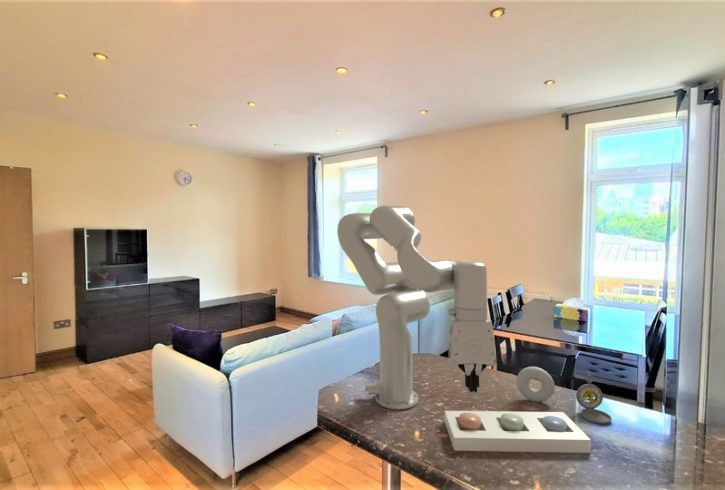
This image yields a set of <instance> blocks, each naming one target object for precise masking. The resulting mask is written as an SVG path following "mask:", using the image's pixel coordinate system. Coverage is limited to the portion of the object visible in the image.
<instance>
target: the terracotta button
mask: <svg viewBox="0 0 725 490" xmlns="http://www.w3.org/2000/svg"><path fill="white" fill-rule="evenodd" d="M459 426H460V427H461V428H462V429H461V430H471V431H480V429H481V418H480V417H479V416H478V415H476V414H473V413H462V414H460V416H459Z"/></svg>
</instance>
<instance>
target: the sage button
mask: <svg viewBox="0 0 725 490" xmlns="http://www.w3.org/2000/svg"><path fill="white" fill-rule="evenodd" d="M501 426H502V428H503V430H504V431H523V418H522V417H520V416H519V415H516V414H512V413H505V414H502V415H501Z"/></svg>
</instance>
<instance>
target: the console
mask: <svg viewBox="0 0 725 490" xmlns="http://www.w3.org/2000/svg"><path fill="white" fill-rule="evenodd" d="M462 413H473V414H476V415H478V416H479V417H480V418H481V429H480V430H479V431H471V430H463V429H462V428H461V427H460V426H459V416H460V414H462ZM505 413H512V414H516V415H519V416H520V417H522V418H523V431H507V430H504V429H503V428H502V426H501V415H502V414H505ZM546 416H554V417H558V418H561V419H563V420H564V421H565V422H566V423H567V432H548V431H547V430H546V429H545V428H544V427H543V418H544V417H546ZM444 424H445V427H446V430H447V433H448V437H449V439H450V442H451V444H452V448H453V451H455V452H456V451H458V452H460V451H461V452H463V451H465V452H468V451H469V452H508V453H509V452H515V453H517V452H518V453H522V452H523V453H568V454H569V453H572V454H579V453H580V454H585V453H586V454H591V453H592V452H591V451H592V450H591V449H592V447H591V446H592V445H591V444H592V440H591V438H590V437H588V436H587V434H586V433H585V432H584V431H583V430H582V429H581V428H580V427H578V425H576V423H575V422H574V421H573V420H572V419H571V418H570V417H569V416H568V415H567V414H566V413H565V412H564V411H505V410H504V411H503V410H502V411H501V410H500V411H498V410H495V411H494V410H493V411H491V410H489V411H488V410H444Z"/></svg>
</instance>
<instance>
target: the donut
mask: <svg viewBox="0 0 725 490" xmlns="http://www.w3.org/2000/svg"><path fill="white" fill-rule="evenodd" d="M534 379H535V380H538V382H540V383H541V386H540V388H538V389H535V388H532V387H531V385H530V381H531V380H534ZM516 386H517V389H518V391H519V393H520V394H521V395H522V396H523V397H524V398H525V399H527V400H528V401H532V402H535V403H542V402H546V401H548V400H549V399H551V398H552V396H553V395H554V393H555V388H556V387H555V386H556V385H555V382H554V379H553V378H552V375H551V374H549V372H547V371H546V370H544V369H543V368H541V367H538V366H528V367H524V368H522V369H521V370H520V371H519V373H518V375H517V377H516Z"/></svg>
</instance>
